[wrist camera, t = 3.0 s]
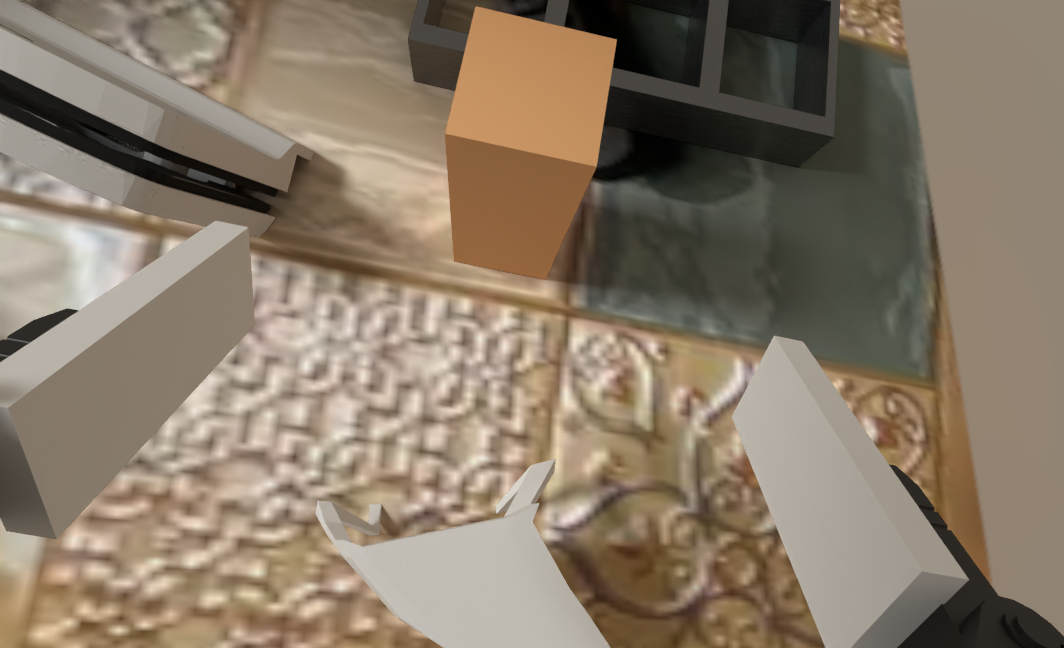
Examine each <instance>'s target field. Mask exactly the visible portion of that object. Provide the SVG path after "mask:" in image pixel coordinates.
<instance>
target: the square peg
mask: <svg viewBox="0 0 1064 648" xmlns="http://www.w3.org/2000/svg"><path fill="white" fill-rule="evenodd" d="M616 42H617V39H613V38H608V37H604V36H600V35H596V34H591V33H587V32H583V31H579V30H574V29H570V28H566V27H562V26H557V25H553V24H549V23H545V22H541V21H536V20H532V19H528V18H524V17H519V16H515V15H511V14H507V13H502V12H498V11H494V10H490V9H485V8H481V7H477V6H475V10H474V14H473V19H472V23H471V27H470V31H469V35H468V39H467V44H466V48H465V52H464V56H463V60H462V65H461V69H460V73H459V77H458V81H457V85H456V90H455V94H454V98H453V102H452V106H451V111H450V115H449V119H448V123H447V127H446V131H445V141H446V155H447V169H448V183H449V197H450V211H451V225H452V239H453V253H454V261H455V262H460V263H465V264H470V265H475V266H480V267H485V268H490V269H495V270H500V271H505V272H510V273H515V274H519V275H524V276H529V277H534V278H539V279H544V280H545V279H546V277H547V275H548V273H549V271H550V268H551V266H552V264H553V262H554V260H555V257H556V255H557V253H558V251H559V249H560V246H561V244H562V242H563V240H564V238H565V235H566V233H567V231H568V229H569V227H570V224H571V222H572V220H573V218H574V215H575V213H576V211H577V209H578V207H579V204H580V202H581V200H582V198H583V196H584V193H585V191H586V189H587V187H588V185H589V182H590V180H591V178H592V176H593V174H594V171H595V169H596V167H597V161H598V155H599V148H600V142H601V136H602V130H603V124H604V117H605V111H606V105H607V99H608V92H609V86H610V80H611V74H612V67H613V61H614V55H615V49H616Z"/></svg>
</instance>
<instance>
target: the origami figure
mask: <svg viewBox="0 0 1064 648" xmlns="http://www.w3.org/2000/svg"><path fill="white" fill-rule="evenodd" d="M554 468H555V459H554V460H550V461H546V462H541V463H537V464H533V465H531V466H530V467H529V468H528V470H527V471H526V472H525V473H524V474H523V475H522V477H521V478H520V479H519V480H518V481H516V482H515V483H514V484H513V486H512V487H511V488H510V489H509V491H508V492H507V493H506V494H505V496H504V497H503V498H502V499H501V501H500V502H499V503H498V504H497V506H496V513H502V512H506V511H507V512H506V514H505V516H504V517H502V518H497V519H492V520H487V521H482V522H477V523H472V524H467V525H462V526H457V527H452V528H447V529H442V530H437V531H432V532H427V533H422V534H417V535H412V536H407V537H402V538H397V539H392V540H387V541H382V542H377V543H372V544H367V545H362V546H359V545H357V544H354V543H352V542H351V540H350V538H349V536H348V534H347V532H346V530H345V528H344V526H343V525H345V526H347V527H350V528H352V529H355V530H357V531H360V532H362V533H365V534H367V535H380V524H381V514H382V511H381V504H370V509H369V517H368V523H367V522H366V521H364V520H362V519H360V518H358V517H357V516H355V515H353V514H351V513H350V512H348V511H346V510H344V509H343V508H341V507H339V506H337V505H335V504H334V503H332V502H326V501H318V503H317V509H316V516H317V517H318V519H319V521H320V523H321V525H322V526H323V528H324V530H325V532H326V534H327V535H328V537H329V538H330V540H331V541H332V542H333V544H334V545H335V547H336V548H337V549H338V551H339V552H340V553H341V555H342V556H343V557H344V559H345V560H346V561H347V562H348V563H349V564H350V565H351V567H352V568H353V569H354V570H355V571H356V572H357V573H358V575H359V576H360V577H361V578H362V579H363V580H364V581H365V582H366V584H367V585H368V586H369V587H370V588H371V589H372V590H373V592H374V593H375V594H376V595H377V596H378V597H379V598H380V600H381V601H382V602H383V603H384V604H385V605H386V606H387V608H388V609H389V610H390V611H391V612H392V613H393V614H394V616H395V617H397V618H398V619H400V620H402V621H403V622H405V623H406V624H408V625H409V626H411V627H413V628H414V629H416V630H417V631H419V632H420V633H422V634H423V635H425V636H426V637H428V638H429V639H431V640H433V641H434V642H436V643H437V644H439V645H440V646H442V647H444V648H610V646H609V645H608V643H607V641H606V640H605V638H604V637H603V635H602V634H601V632H600V631H599V629H598V628H597V626H596V625H595V623H594V622H593V620H592V619H591V617H590V616H589V614H588V613H587V612H586V610H585V609H584V607H583V606H582V605H581V603H580V602H579V600H578V599H577V598H576V596H575V595H574V593H573V592H572V591H571V589H570V588H569V586H568V585H567V583H566V581H565V579H564V578H563V576H562V574H561V572H560V570H559V569H558V567H557V565H556V563H555V561H554V560H553V558H552V556H551V554H550V552H549V551H548V549H547V547H546V545H545V543H544V542H543V540H542V538H541V536H540V534H539V533H538V531H537V529H536V527H535V525H534V523H533V519H534V517H535V514H536V511H537V509H538V506H539V504H540V503H536V502H537V500H538V498H539V497H540V495H541V493H542V492H543V490H544V488H545V487H546V485H547V483H548V481H549V480H550V478H551V476H552V475H553V473H554Z"/></svg>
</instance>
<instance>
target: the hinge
mask: <svg viewBox="0 0 1064 648" xmlns="http://www.w3.org/2000/svg"><path fill="white" fill-rule="evenodd" d="M86 124H87V125H89V126H91V127H93V128H95V129H98V130H100V131H102V132H104V133H106V134H108V135H111V136H113V137H115V138H117V139H119V140H121V141H124V142H126V143H128V144H130V145H132V146H134V147H136V148H139V149H141V150H143V152H138V153H137V152H135V151H134V150H132V149H130V148H128V147H126V146H124V145H122V144H120V143H118V142H116V141H114V140H112V139H110V138H108V137H106V136H104V135H102V134H101V133H99V132H97V131H95V130H93V129H91V128H89V127H88V126H87V125H86ZM0 152H1V153H3V154H5V155H7V156H10V157H12V158H14V159H16V160H18V161H21V162H23V163H25V164H27V165H29V166H32V167H34V168H36V169H38V170H40V171H43V172H45V173H47V174H50V175H52V176H54V177H56V178H59V179H61V180H63V181H66V182H68V183H70V184H73V185H75V186H77V187H79V188H82V189H84V190H86V191H89V192H91V193H93V194H96V195H98V196H100V197H103V198H105V199H107V200H109V201H112V202H114V203H116V204H119V205H121V206H124V207H127V208H130V209H132V210H136V211H139V212H142V213H145V214H149V215H154V216H159V217H164V218H168V219H173V220H178V221H183V222H187V223H192V224H197V225H202V226H206V227H207V226H208V225H210V224H211V223H213V222H214V221H220V222H225V223H230V224H235V225H240V226H245V227H249V236H254V237H260V236H261V235H262V234H263V233H264V232H265V231H266V230H267V229H268V228H269V226H270V225H271V224H272V222H273V221H274V220H275V217H274V216H272V215H270V214H268V211H269V209H270V205H268V204H266V203H264V202H262V201H260V200H258V199H256V198H254V197H252V196H250V195H248V194H246V193H245V192H243V191H241V190H238V189H236V186H235V184H238V185H241V186H244V187H247V188H250V189H253V190H256V191H259V192H262V193H265V194H268V195H271V196H274V197H275V195H276V193H277V191H278V189H279V190H282V191H285V192H288V188H289V184H290V180H291V176H292V172H293V169H294V165H295V161H296V157H297V155H299V156H301V157H303V158H305V159H307V160H309V161H310V160H311V158H312V156H313V154H314V151H312V150H310V149H308V148H306V147H304V146H303V145H301V144H299V143H297V142H295V141H293V140H291V139H289V138H287V137H285V136H283V135H281V134H279V133H277V132H275V131H274V130H272V129H270V128H268V127H266V126H264V125H262V124H260V123H258V122H256V121H254V120H252V119H250V118H248V117H246V116H244V115H242V114H240V113H238V112H236V111H234V110H233V109H231V108H229V107H227V106H225V105H223V104H221V103H219V102H217V101H215V100H213V99H211V98H209V97H207V96H205V95H203V94H201V93H199V92H197V91H195V90H194V89H192V88H190V87H188V86H186V85H184V84H182V83H180V82H178V81H176V80H174V79H172V78H170V77H168V76H166V75H164V74H162V73H160V72H158V71H156V70H154V69H153V68H151V67H149V66H147V65H145V64H143V63H141V62H139V61H137V60H135V59H133V58H131V57H129V56H127V55H125V54H123V53H121V52H119V51H117V50H115V49H114V48H112V47H110V46H108V45H106V44H104V43H102V42H100V41H98V40H96V39H94V38H92V37H90V36H88V35H86V34H84V33H82V32H80V31H78V30H76V29H74V28H73V27H71V26H69V25H67V24H65V23H63V22H61V21H59V20H57V19H55V18H53V17H51V16H49V15H47V14H45V13H43V12H41V11H39V10H37V9H35V8H34V7H32V6H30V5H28V4H26V3H24V2H22V1H20V0H0Z"/></svg>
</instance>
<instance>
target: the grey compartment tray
mask: <svg viewBox="0 0 1064 648" xmlns="http://www.w3.org/2000/svg"><path fill="white" fill-rule="evenodd" d="M444 1H445V0H418V3H417V7H416V11H415V14H414V18H413V22H412V25H411V29H410V33H409V37H408V43H409V50H410V57H411V64H412V71H413V78H414V81H416V82H420V83H425V84H429V85H434V86H438V87H443V88H447V89H452V90H456V85H457V81H458V77H459V73H460V69H461V65H462V60H463V56H464V52H465V48H466V44H467V39H468V35H469V34H466V33H462V32H457V31H453V30H449V29H444V28H440V27H438V25H439V21H440V17H441V13H442V9H443V5H444ZM623 1H628V2H632V3H636V4H640V5H644V6H648V7H652V8H657V9H661V10H665V11H669V12H673V13H677V14H681V15H685V16H690V20H689V28H688V36H687V44H686V52H685V60H684V68H683V76H682V84H681V83H677V82H672V81H668V80H664V79H659V78H655V77H651V76H646V75H642V74H638V73H634V72H629V71H625V70H621V69H616V68H612V74H611V80H610V86H609V92H608V99H607V105H606V111H605V117H604V124H607V125H612V126H616V127H621V128H625V129H629V130H634V131H638V132H643V133H647V134H652V135H656V136H661V137H665V138H669V139H674V140H678V141H683V142H687V143H692V144H696V145H701V146H705V147H709V148H714V149H718V150H723V151H727V152H732V153H736V154H741V155H745V156H749V157H754V158H758V159H763V160H767V161H772V162H776V163H781V164H785V165H789V166H794V167H798V168H799V167H800V166H801V165H802V164H803V163H804V162H806V161H807V160H808V159H809V158H810V157H811V156H813V155H814V154H815V153H816V152H817V151H818V150H820V149H821V148H822V147H823V146H824V145H825V144H827V143H828V142H829V141H830V140H831V139H832V138H834V130H835V107H836V85H837V62H838V39H839V17H840V0H623ZM568 4H569V0H548V4H547V9H546V14H545V19H544V22H545V23H549V24H553V25H557V26H562V27H564V25H565V20H566V14H567V9H568ZM726 25H727V26H731V27H735V28H739V29H743V30H747V31H752V32H756V33H760V34H764V35H768V36H772V37H776V38H781V39H785V40H789V41H793V42H797V43H798V48H797V63H796V79H795V94H794V109H788V108H784V107H780V106H775V105H771V104H767V103H763V102H758V101H754V100H750V99H745V98H741V97H737V96H732V95H728V94H724V93H720V92H719V89H720V79H721V69H722V60H723V50H724V40H725V31H726Z"/></svg>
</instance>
